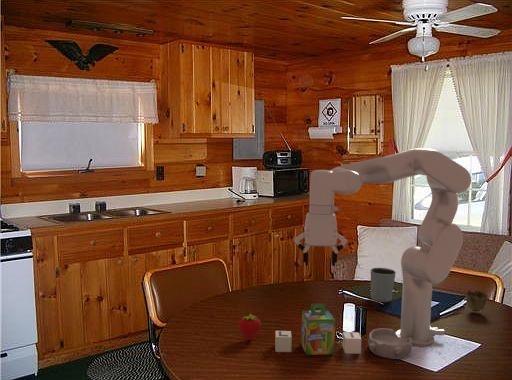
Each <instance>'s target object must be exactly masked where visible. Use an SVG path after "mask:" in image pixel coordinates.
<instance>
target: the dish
mask: <svg viewBox="0 0 512 380" xmlns="http://www.w3.org/2000/svg"><path fill="white" fill-rule="evenodd" d="M367 341H368V348H369V350H370V352H372V353H373V354H374V355H376V356H379V357H381V358H386V359H393V360H402V359H405V358H408V357H409V356H410V355H411V353H412V350H413V349H412V348H413V345H412V339H411V338H410V337H409V338H408V339H407V340H405V341H403V340H401V339H400V338H399V337H398V336H397V335H396V331H395V330H394V329H393V328H384V327H383V328H382V327H381V328H375V329H372V330H371V331H370V332H369V335H368V340H367Z"/></svg>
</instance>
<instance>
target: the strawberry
mask: <svg viewBox="0 0 512 380" xmlns="http://www.w3.org/2000/svg"><path fill="white" fill-rule="evenodd" d="M261 326H262V323H261V320H260V319H259V317H257V316H256V315H253V314H252V312H250V314H249V315H243V316H242V318H241V319H240V320H239V321H238V328H239V331H240V333H241V334H242V335H243V336H244V338H246V340H247V341H252V340H253V339H254V338H255V336H256V335H257V334H258V333H259V331H260V329H261Z"/></svg>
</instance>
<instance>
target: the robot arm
mask: <svg viewBox="0 0 512 380" xmlns="http://www.w3.org/2000/svg"><path fill="white" fill-rule="evenodd" d="M418 175H419V176H426V182H427V184H428V186H429V188H430V191H431V202H430V204H429V207H428V210H427V211H426V214H425V216H424V218H423V220H422V222H421V225H420V227H419V228H418V233H417V236H418V239H419V241H420V242H421V243H422V244H424V245H426V246H428V247H430V249H428V248H424V247H421V246H416V245H415V246H410V247H408V248H407V249H406V250H404V252H403V253H402V255H401V259H400V265H401V266H400V268H401V274H402V291H401V311H400V329H398V330H397V331H395V333H396V335H397V336H398V337H399V338H400V339H401V340H403V341H405V340H407V339H408V338H409V337H410V338H411V339H412V346H415V347H416V346H418V347H424V346H430V345H432V344H433V343H434V342H435V336H445V330H444V329H439V328H438V327H431V317H432V311H431V310H432V299H433V298H432V296H433V284H434V285H435V284H439V283H441V282H443V281H444V280H445V279H446V278H447V277H448V275H449V274H450V272H451V270H452V268H453V266H454V264H455V261H456V260H457V258H458V255H459V254H460V251H461V249H462V246H463V243H464V234H463V231H462V229H461V227H460V226H458V225H457V224H455V223H453V221H454V220H455V216H456V214H457V211H458V207H459V199H458V195H457V194H462V193H465V192H466V191H467V190H468V189H469V188H470V186H471V184H472V176H471V173H470V172H469V171H468V170H467V168H466V167H464V166H463V165H461V164H459V163H458V162H456V161H455V160H453V159H451V158H450V157H448V156H446V154H444V153H442V152H440V151H438V150H436V149H433V148H425V147H424V148H423V147H416V148H411V149H407V150H404V151H400V152H397V153H393V154H389V155H385V156H381V157H375V158H371V159H366V160H361V161H360V160H359V161H357V162H350V163H347V164H344V165H340V166H336V167H334V168H332V169H329V170H328V169H314V170H311V172H310V179H309V181H310V182H309V210H308V211H309V212H307V213H306V215H305V221H304V231H303V232H302V233H300V234H299V235H297V236H296V237H294V238H293V241H294V243H295V244H296V245H297V247H298V248H299V249H300V250H301V252H302V255H303V256H302V262H303V263H304V265H305V266H306V267H308V265H309V251H308V250H309V249H310V248H311V247H330V248H331V249H332V250H331V266H332V267H335V266H336V264H337V263H338V253H339V252H340V251H341V250H342V249H343V248H344V247H345V246H346V244H347V243H348V239H346V238H345V237H344V236H342V235H341V234H340V233H338V224H337V223H338V222H337V215H336V213H335V212H336V211H337V212H339V206H338V205H337V206H336V205H335V194H342V195H353V194H355V193H357V192H358V191H360V190H361V187H362V185H364V184H390V183H393V182H397V181H399V180H403V179H408V178H411V177H414V176H418ZM301 240H303V241H304V245H303V244H302V242H300V241H301ZM338 240H340V241H341V242H340V243H339V244H338Z"/></svg>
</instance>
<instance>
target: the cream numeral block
mask: <svg viewBox="0 0 512 380" xmlns="http://www.w3.org/2000/svg"><path fill="white" fill-rule="evenodd" d="M342 349H343V352H344V354H355V355H356V354H361V353H362V351H361V350H362V337H361V334H360V333H359V332H357V331H356V332H355V331H354V332H351V331H350V332H349V331H348V332H347V331H343V332H342Z"/></svg>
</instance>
